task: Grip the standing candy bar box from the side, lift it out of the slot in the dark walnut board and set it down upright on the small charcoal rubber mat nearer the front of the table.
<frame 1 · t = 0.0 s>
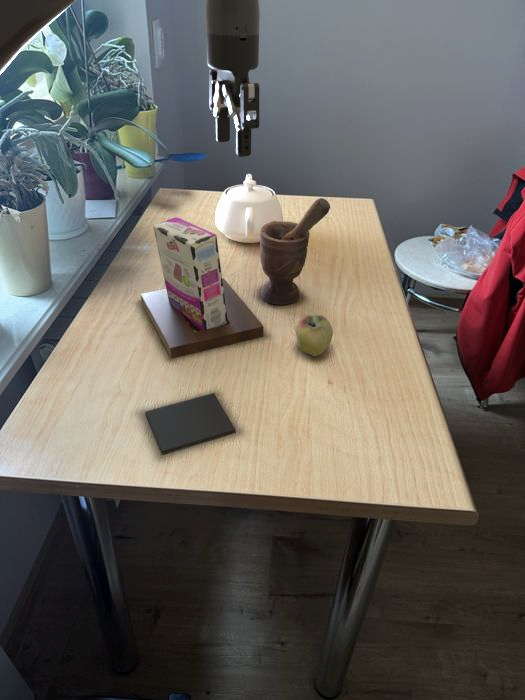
hand: (232, 148, 84), 27 cm above the table, tool pointing down, fingers open, 8 cm apart
mat: (189, 423, 71), on the table
board: (200, 319, 92), on the table
mortar and pestle: (289, 297, 100), on the table
candy bar box: (199, 318, 92), resting in board
apple: (312, 348, 87), on the table
teapot: (248, 233, 123), on the table
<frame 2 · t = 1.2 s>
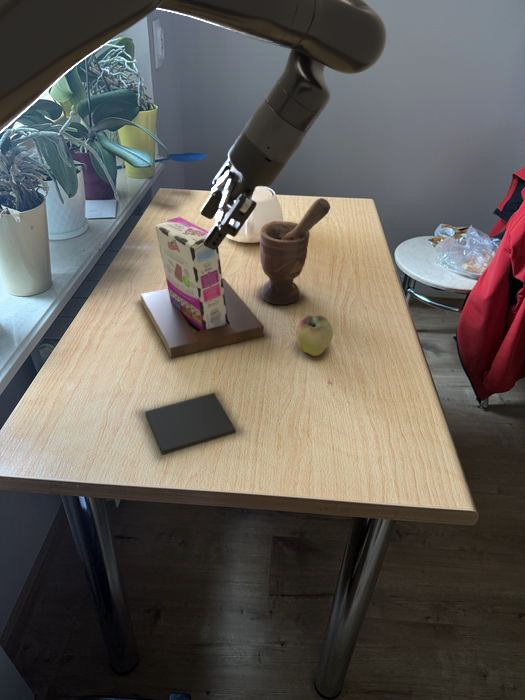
hand: (207, 230, 82), 17 cm above the table, tool tilted 35°, fingers open, 8 cm apart
candy bar box: (200, 318, 92), resting in board, touching gripper
everything else where it was.
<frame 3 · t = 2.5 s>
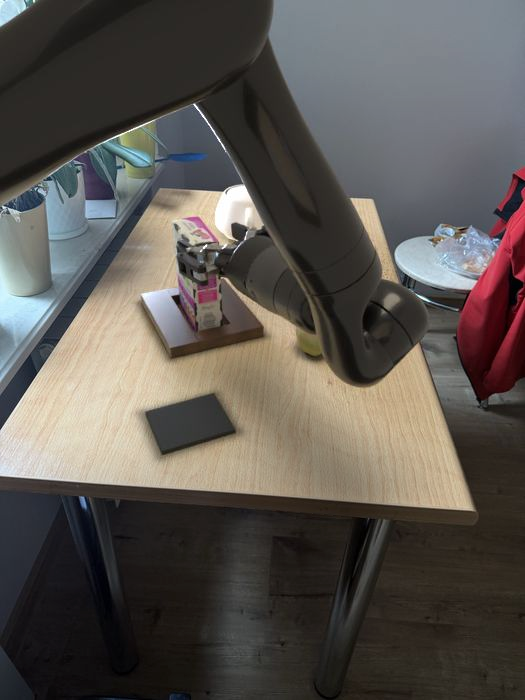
hand: (207, 237, 74), 19 cm above the table, tool horizontal, fingers open, 8 cm apart
candy bar box: (201, 318, 93), resting in board
everything else where it was.
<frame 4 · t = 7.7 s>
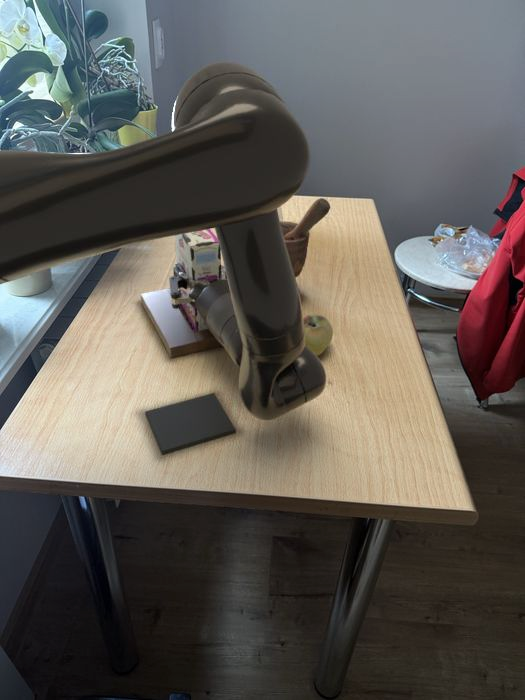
hand: (193, 265, 89), 9 cm above the table, tool horizontal, fingers closed on candy bar box, 5 cm apart
candy bar box: (201, 318, 93), resting in board, touching gripper
everything else where it was.
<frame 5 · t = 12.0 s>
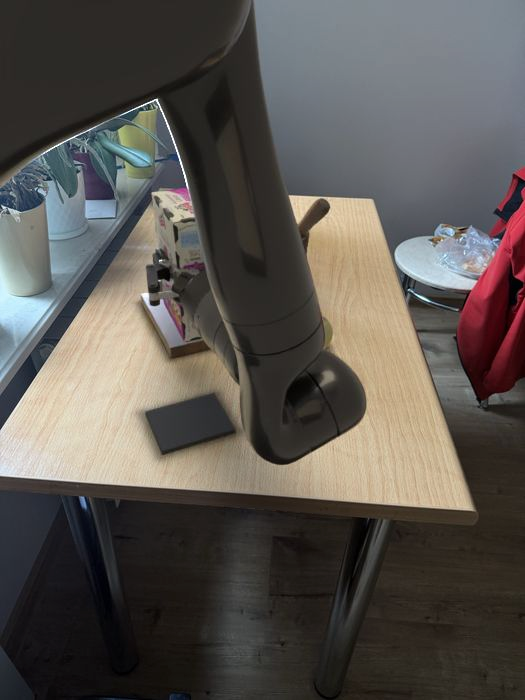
hand: (179, 252, 69), 20 cm above the table, tool horizontal, fingers closed on candy bar box, 5 cm apart
candy bar box: (190, 320, 73), point 10 cm above the table, touching gripper
everything else where it was.
when the fingers open (10 cm above the table, at t = 16.3 s): candy bar box stays where it is, resting on mat.
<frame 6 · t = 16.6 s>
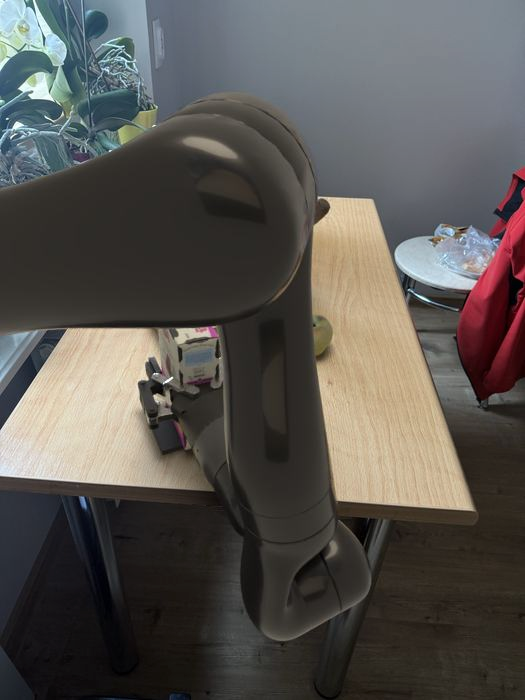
hand: (180, 355, 67), 10 cm above the table, tool horizontal, fingers open, 7 cm apart
candy bar box: (191, 419, 71), resting on mat
everything else where it was.
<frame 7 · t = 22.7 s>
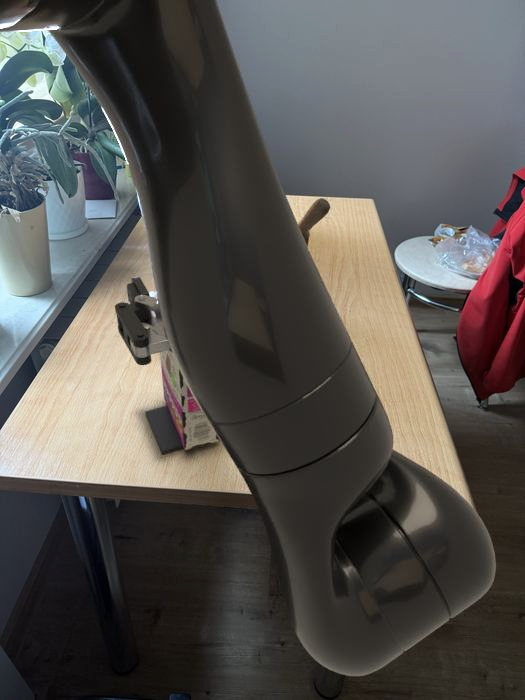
hand: (180, 277, 50), 26 cm above the table, tool horizontal, fingers open, 8 cm apart
nothing on the table moved.
at the end: candy bar box inside the target area on the mat (0.3 cm from its centre), point 0.4 cm above the mat's base; candy bar box tilted 0°; candy bar box touching mat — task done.
